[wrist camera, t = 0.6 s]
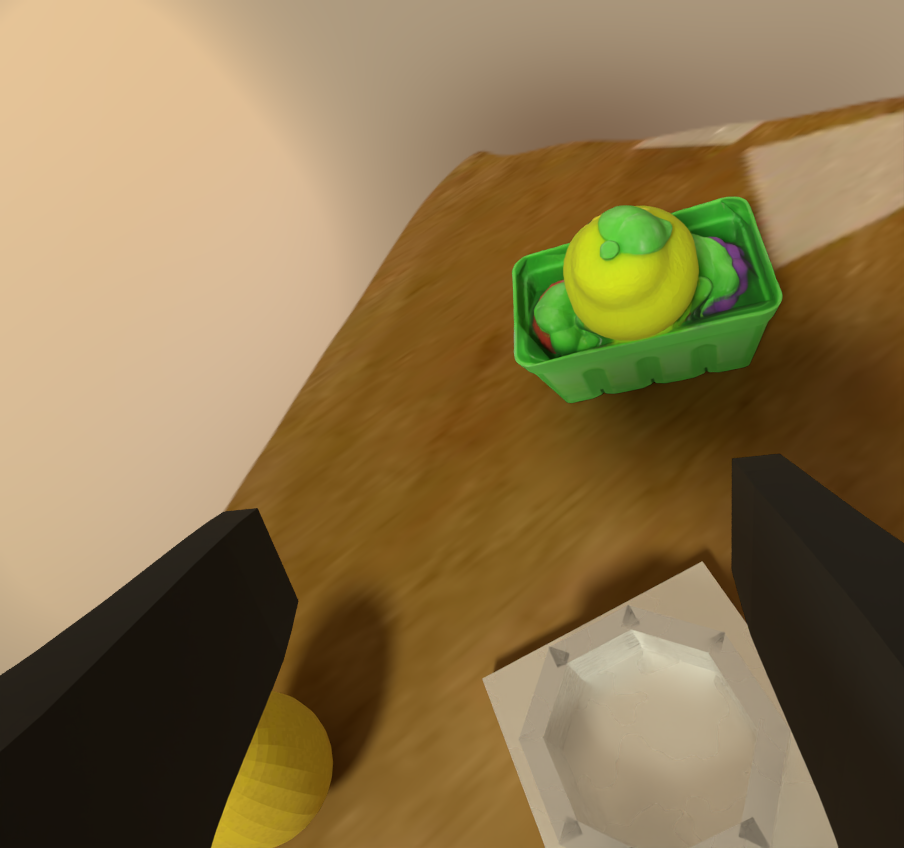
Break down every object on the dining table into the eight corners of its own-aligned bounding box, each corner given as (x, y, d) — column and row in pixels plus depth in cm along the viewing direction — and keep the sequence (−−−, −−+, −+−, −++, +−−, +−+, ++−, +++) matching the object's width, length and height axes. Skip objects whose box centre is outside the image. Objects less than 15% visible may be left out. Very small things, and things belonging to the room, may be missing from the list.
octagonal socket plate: (898, 846, 19) (915, 839, 17) (605, 984, 20) (577, 999, 18) (705, 570, 26) (695, 535, 23) (490, 684, 27) (458, 662, 24)
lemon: (235, 801, 28) (89, 778, 23) (310, 688, 30) (192, 638, 24) (311, 890, 25) (164, 891, 19) (391, 758, 27) (276, 720, 21)
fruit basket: (749, 267, 33) (736, 59, 25) (795, 402, 28) (797, 198, 20) (539, 322, 37) (467, 158, 29) (546, 449, 32) (461, 295, 24)
